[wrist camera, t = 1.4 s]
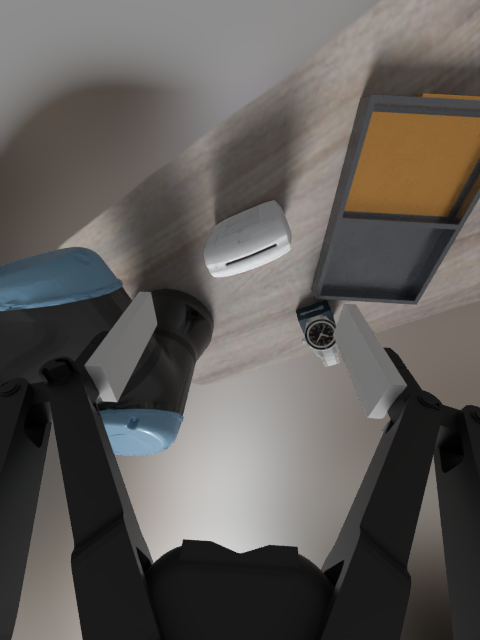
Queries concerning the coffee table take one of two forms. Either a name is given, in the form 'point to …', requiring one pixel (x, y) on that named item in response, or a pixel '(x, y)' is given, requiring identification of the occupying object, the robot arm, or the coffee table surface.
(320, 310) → the watch
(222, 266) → the photo printer
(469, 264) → the coffee table surface
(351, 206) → the tray
